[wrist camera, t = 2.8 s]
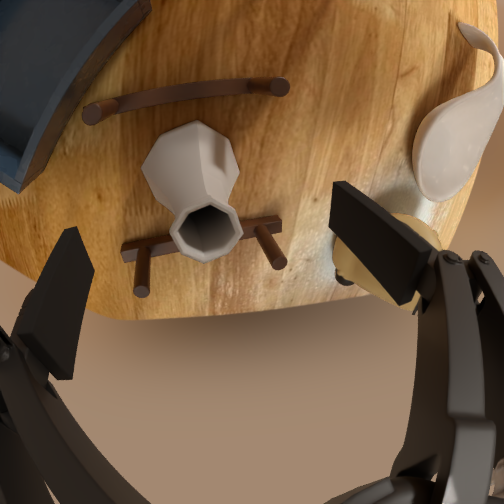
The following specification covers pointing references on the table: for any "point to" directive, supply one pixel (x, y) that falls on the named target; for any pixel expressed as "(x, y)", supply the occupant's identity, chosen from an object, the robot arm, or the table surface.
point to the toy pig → (356, 272)
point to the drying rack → (174, 93)
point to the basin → (51, 72)
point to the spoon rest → (458, 130)
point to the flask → (196, 189)
